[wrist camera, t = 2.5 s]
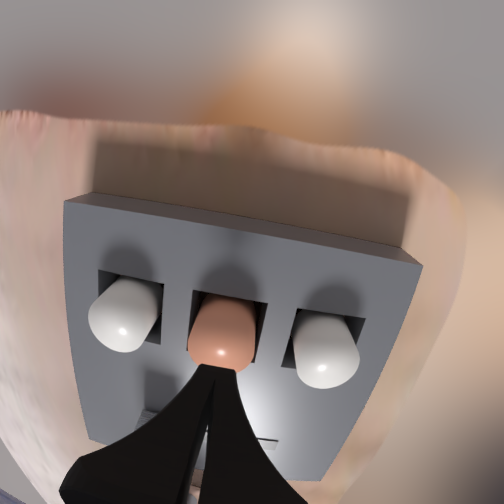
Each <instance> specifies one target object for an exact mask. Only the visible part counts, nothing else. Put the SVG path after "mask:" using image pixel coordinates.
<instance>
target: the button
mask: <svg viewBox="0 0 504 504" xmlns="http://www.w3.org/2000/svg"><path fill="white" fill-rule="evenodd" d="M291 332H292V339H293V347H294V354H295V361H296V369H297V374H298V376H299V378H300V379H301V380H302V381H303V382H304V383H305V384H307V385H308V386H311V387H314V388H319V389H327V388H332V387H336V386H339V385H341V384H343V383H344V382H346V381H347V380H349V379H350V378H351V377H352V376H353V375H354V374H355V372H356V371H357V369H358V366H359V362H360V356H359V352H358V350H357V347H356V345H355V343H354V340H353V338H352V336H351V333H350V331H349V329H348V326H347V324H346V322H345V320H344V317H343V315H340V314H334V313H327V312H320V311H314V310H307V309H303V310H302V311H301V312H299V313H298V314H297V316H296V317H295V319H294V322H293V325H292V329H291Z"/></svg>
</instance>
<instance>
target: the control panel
mask: <svg viewBox="0 0 504 504" xmlns="http://www.w3.org/2000/svg"><path fill="white" fill-rule="evenodd" d="M63 263H64V285H65V299H66V311H67V321H68V330H69V339H70V346H71V353H72V360H73V366H74V372H75V378H76V383H77V388H78V393H79V398H80V403H81V408H82V412H83V416H84V420H85V425H86V429H87V432H88V436H89V439H90V440H93V441H96V442H99V443H102V444H105V445H110V444H112V443H114V442H116V441H118V440H120V439H122V438H124V437H125V436H127V435H129V434H130V433H132V432H133V431H134V429H135V426H136V424H137V422H138V419H139V417H140V414H141V412H142V410H146V411H149V412H153V413H157V414H158V413H159V412H160V411H161V410H162V409H163V408H164V407H165V406H166V405H167V404H168V403H169V402H170V401H171V400H172V399H173V398H174V397H175V396H176V395H177V394H178V393H179V392H180V391H181V389H182V388H183V387H184V386H185V385H186V383H187V382H188V381H189V380H190V378H191V377H192V375H193V374H194V372H195V371H196V369H197V367H198V365H197V364H196V363H195V362H194V361H193V360H192V358H191V357H190V354H189V352H188V338H189V336H190V333H191V330H192V328H193V325H194V322H195V320H196V317H197V314H198V306H199V298H200V291H203V292H209V293H214V294H219V295H225V296H230V297H236V298H241V299H247V300H253V301H258V302H263V303H262V307H261V312H260V316H259V321H258V325H257V330H256V333H255V350H254V356H253V359H252V361H251V363H250V364H249V365H248V366H247V367H246V368H245V369H243V370H242V371H240V372H238V373H236V376H237V384H238V389H239V393H240V397H241V400H242V403H243V407H244V410H245V412H246V415H247V418H248V420H249V422H250V425H251V427H252V429H253V431H254V434H255V436H256V437H257V439H258V441H259V443H260V445H261V447H262V448H263V450H264V451H265V453H266V455H267V456H268V458H269V459H270V461H271V462H272V463H273V465H274V466H275V467H276V469H277V470H278V471H279V473H280V474H281V475H282V477H283V478H284V479H285V480H295V481H321V479H322V478H323V476H324V475H325V473H326V472H327V470H328V469H329V467H330V466H331V464H332V462H333V461H334V459H335V458H336V456H337V454H338V453H339V451H340V449H341V448H342V446H343V444H344V443H345V441H346V439H347V437H348V436H349V434H350V432H351V430H352V429H353V427H354V425H355V423H356V421H357V420H358V418H359V416H360V414H361V412H362V410H363V408H364V407H365V405H366V403H367V401H368V399H369V397H370V395H371V393H372V391H373V389H374V387H375V385H376V383H377V381H378V379H379V376H380V374H381V372H382V370H383V368H384V366H385V364H386V361H387V359H388V357H389V355H390V352H391V350H392V348H393V345H394V343H395V341H396V338H397V336H398V334H399V331H400V329H401V326H402V324H403V321H404V319H405V316H406V314H407V311H408V308H409V306H410V303H411V300H412V297H413V295H414V292H415V289H416V286H417V283H418V280H419V278H420V275H421V271H422V268H423V265H422V264H420V263H419V262H418V261H417V260H415V259H414V258H413V257H412V256H410V255H409V254H408V253H407V252H405V251H404V250H403V249H402V248H398V247H394V246H389V245H384V244H380V243H375V242H370V241H366V240H361V239H356V238H351V237H346V236H341V235H337V234H332V233H327V232H322V231H317V230H312V229H306V228H301V227H296V226H291V225H286V224H280V223H275V222H270V221H264V220H259V219H253V218H248V217H242V216H237V215H231V214H225V213H220V212H214V211H208V210H202V209H196V208H190V207H184V206H178V205H172V204H166V203H160V202H153V201H147V200H141V199H134V198H127V197H121V196H114V195H107V194H100V193H93V192H91V193H88V194H84V195H81V196H78V197H75V198H71V199H68V200H65V201H64V211H63ZM120 274H121V275H126V276H130V277H135V278H139V279H144V280H149V281H154V282H158V283H163V284H164V295H163V309H162V315H159V316H158V318H157V319H156V321H155V323H154V325H153V326H152V328H151V330H150V331H149V333H148V335H147V337H146V338H145V340H144V342H143V343H142V345H141V346H140V347H139V348H138V349H136V350H134V351H132V352H118V351H114V350H112V349H110V348H108V347H106V346H105V345H103V344H102V343H101V342H100V341H99V340H98V339H97V338H96V336H95V335H94V334H93V332H92V330H91V328H90V325H89V321H88V313H89V309H90V307H91V305H92V304H93V302H94V301H95V300H96V299H97V298H98V297H99V296H100V295H101V294H102V293H104V292H105V291H106V290H107V289H108V288H109V287H110V286H111V285H112V284H113V283H114V282H115V281H116V280H117V279H118V278H119V277H120ZM297 308H301V309H307V310H314V311H320V312H327V313H334V314H340V315H345V317H344V320H345V322H346V324H347V326H348V329H349V331H350V333H351V336H352V338H353V340H354V343H355V345H356V347H357V350H358V352H359V356H360V362H359V366H358V369H357V371H356V372H355V374H354V375H353V376H352V377H351V378H350V379H349V380H347V381H346V382H344V383H343V384H341V385H339V386H336V387H332V388H327V389H319V388H314V387H311V386H308V385H307V384H305V383H304V382H303V381H302V380H301V379H300V378H299V376H298V374H297V369H296V361H295V354H294V347H293V339H289V336H290V333H291V329H292V325H293V322H294V318H295V314H296V311H297ZM207 430H208V427H207ZM207 430H206V433H205V436H204V440H203V443H202V446H201V449H200V452H199V456H198V459H197V462H196V465H195V469H200V470H204V468H205V457H206V443H207Z"/></svg>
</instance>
